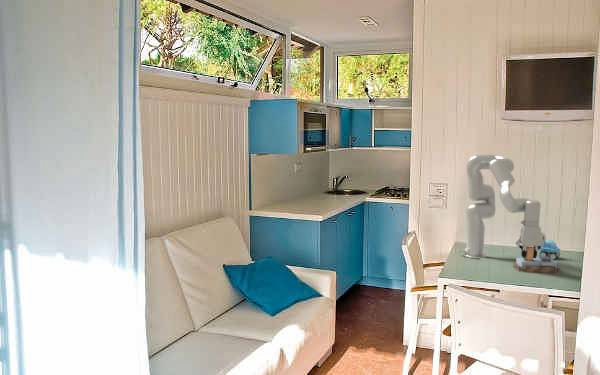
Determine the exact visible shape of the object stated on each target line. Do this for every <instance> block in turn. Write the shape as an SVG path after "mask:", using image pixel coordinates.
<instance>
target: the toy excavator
mask: <svg viewBox="0 0 600 375" xmlns="http://www.w3.org/2000/svg"><path fill="white" fill-rule="evenodd" d="M541 237H542V242H543V243H544V246H543V247H541V248H540V249H539V250H538V251H540V252H539V257H540V256H547V257H549V258H551V259H552V260H553V261H555V260H556V259H557V258H559V257H560V254H561V248H559V247H558V246H557V243H556V242H555V241H554V240H552V239H546V234H545V232H544V231H542V230H541Z"/></svg>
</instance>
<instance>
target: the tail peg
mask: <svg viewBox="0 0 600 375" xmlns="http://www.w3.org/2000/svg"><path fill="white" fill-rule="evenodd" d="M525 251H526V256H525V261H533V257H534V247H533V246H526V248H525Z"/></svg>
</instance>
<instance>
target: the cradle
mask: <svg viewBox="0 0 600 375" xmlns="http://www.w3.org/2000/svg"><path fill="white" fill-rule="evenodd" d="M512 267H513V268H514V269H515V270H516V271H517V272H519V273H530V274H531V273H537V274H557V275H558V274H562V273H561V272H560V268H559V267H558V266H557V270H556V267H552V266H524V268H523V271H521V267H520V266H518V265H517V264H516V262H513V263H512Z"/></svg>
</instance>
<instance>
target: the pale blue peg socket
mask: <svg viewBox="0 0 600 375" xmlns="http://www.w3.org/2000/svg"><path fill="white" fill-rule="evenodd" d="M515 261H516V262H515V263H516V264H517V265H518V266H520V267H521V271H523V268H524V266H552V267H556V270H557V267H558V262H556V261H555V260H552V259H551V258H549V257H547V256H540V255H539V257H538V256H537V257H536V259H535V258H533V261H525V258H523V257H516V260H515Z"/></svg>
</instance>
